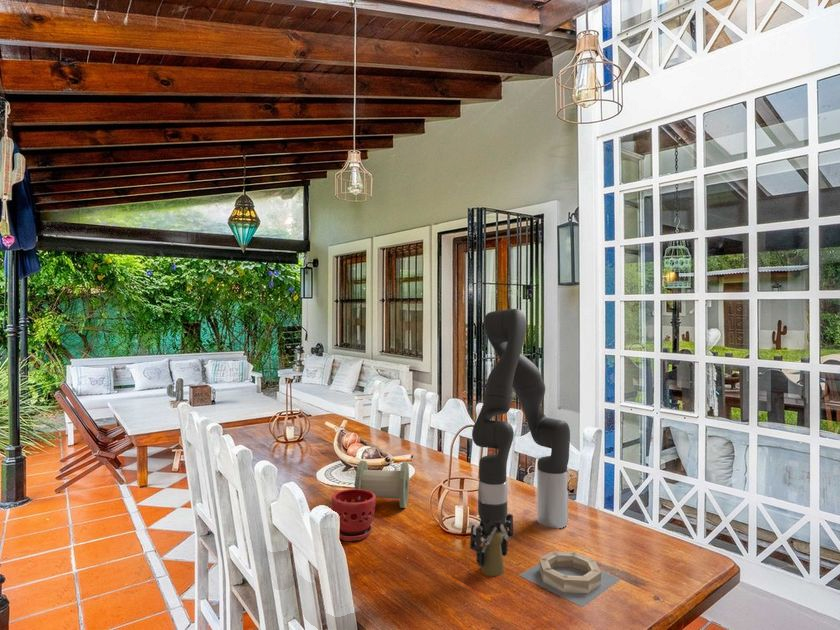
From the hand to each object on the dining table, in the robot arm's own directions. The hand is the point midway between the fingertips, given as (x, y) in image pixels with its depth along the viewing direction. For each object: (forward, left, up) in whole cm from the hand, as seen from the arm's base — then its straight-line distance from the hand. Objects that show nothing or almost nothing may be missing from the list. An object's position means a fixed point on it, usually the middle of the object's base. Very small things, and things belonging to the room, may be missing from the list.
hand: (492, 559), depth 129 cm
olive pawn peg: (0, 0, -4) cm, 4 cm away
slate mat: (-12, +15, -3) cm, 20 cm away
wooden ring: (-12, +15, -3) cm, 19 cm away
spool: (-5, -54, -4) cm, 54 cm away
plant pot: (+15, -42, -4) cm, 45 cm away
